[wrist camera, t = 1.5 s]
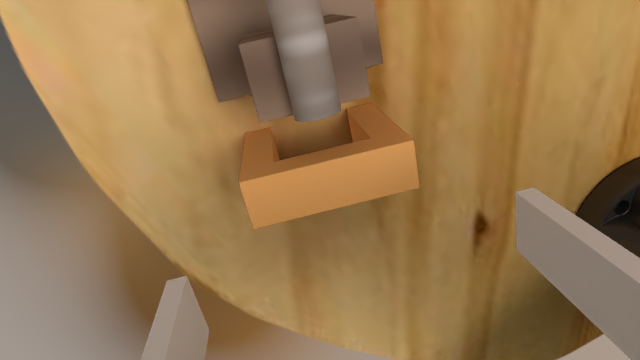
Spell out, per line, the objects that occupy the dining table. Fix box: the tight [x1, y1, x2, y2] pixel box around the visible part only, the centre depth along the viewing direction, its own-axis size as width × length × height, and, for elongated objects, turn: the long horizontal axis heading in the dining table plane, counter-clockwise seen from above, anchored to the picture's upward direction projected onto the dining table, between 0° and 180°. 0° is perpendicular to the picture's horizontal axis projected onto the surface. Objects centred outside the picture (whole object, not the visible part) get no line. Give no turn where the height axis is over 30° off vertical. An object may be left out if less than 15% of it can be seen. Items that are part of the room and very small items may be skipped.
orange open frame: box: [239, 103, 420, 229], centre depth 29 cm, size 3×10×10 cm, turn 102°
